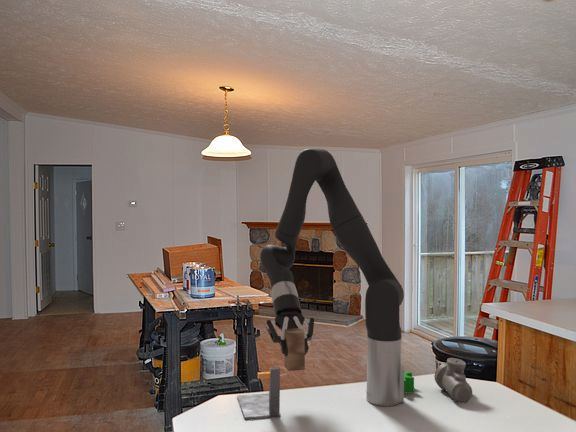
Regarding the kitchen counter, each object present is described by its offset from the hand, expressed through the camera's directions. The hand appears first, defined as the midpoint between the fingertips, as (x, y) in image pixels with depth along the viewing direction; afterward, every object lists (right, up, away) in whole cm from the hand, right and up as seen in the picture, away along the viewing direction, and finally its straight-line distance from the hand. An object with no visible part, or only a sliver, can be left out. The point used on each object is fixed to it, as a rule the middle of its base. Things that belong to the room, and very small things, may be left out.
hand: (295, 353), depth 132 cm
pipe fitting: (+45, -15, +9) cm, 48 cm away
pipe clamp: (+32, -15, +14) cm, 38 cm away
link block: (0, -4, +2) cm, 4 cm away
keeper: (-10, -14, -1) cm, 17 cm away
